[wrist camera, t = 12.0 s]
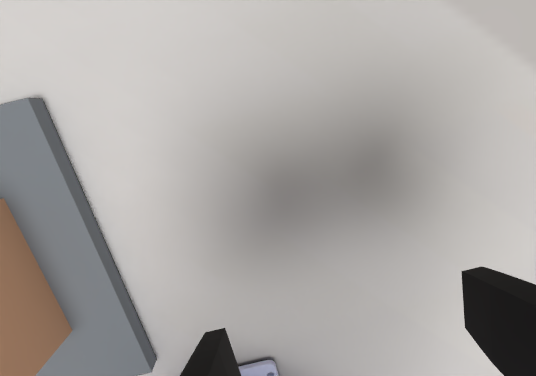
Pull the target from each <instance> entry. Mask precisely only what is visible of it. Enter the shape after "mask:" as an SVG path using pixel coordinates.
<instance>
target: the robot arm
mask: <svg viewBox="0 0 536 376" xmlns="http://www.w3.org/2000/svg"><path fill="white" fill-rule="evenodd" d="M462 285H463V302H464V318H465V328H466V329H467V331H468V332H469V333H470V335H471V336H472V337H473V339H474V340H475V341H476V343H477V344H478V345H479V347H480V348H481V349H482V351H483V352H484V353H485V354H486V356H487V357H488V358H489V359H490V361H491V362H492V363H493V364H494V365H495V366H496V367H497V368H498V370H499V371H500V372H501V373H502V374H503V375H504V376H536V285H535V284H532V283H529V282H527V281H524V280H521V279H518V278H515V277H512V276H510V275H507V274H504V273H501V272H498V271H495V270H492V269H489V268H485V267H478V268H474V269H470V270H466V271H462ZM269 372H272V373H269ZM180 376H279V374H278V371H277V368H276V364H275V362H274V361H272V360H265V361H261V362H256V363H252V364H248V365H244V366H239V367H238V365H237V362H236V359H235V356H234V353H233V350H232V347H231V344H230V341H229V338H228V336H227V333H226V330H225V328H223V329H218V330H214V331H210V332H206V333H205V334H204V335H203V337H202V339H201V340H200V342H199V344H198V345H197V347H196V349H195V351H194V352H193V354H192V356H191V358H190V359H189V361H188V363H187V365H186V366H185V368H184V370H183V371H182V373H181V375H180Z"/></svg>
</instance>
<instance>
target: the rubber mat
mask: <svg viewBox="0 0 536 376" xmlns="http://www.w3.org/2000/svg"><path fill="white" fill-rule="evenodd" d="M2 198H4V200H5V202H6V204H7V205H8V207H9V209H10V211H11V213H12V215H13V217H14V219H15V221H16V223H17V225H18V227H19V229H20V230H21V232H22V234H23V236H24V238H25V240H26V242H27V244H28V246H29V248H30V250H31V252H32V254H33V255H34V257H35V259H36V261H37V263H38V265H39V267H40V269H41V271H42V273H43V275H44V277H45V279H46V281H47V282H48V284H49V286H50V288H51V290H52V292H53V294H54V296H55V298H56V300H57V302H58V304H59V306H60V307H61V309H62V311H63V313H64V315H65V317H66V319H67V321H68V323H69V325H70V327H71V329H72V332H71V333H70V334H69V336H68V337H67V338H66V339H65V340H64V342H63V343H62V344H61V345H60V346H59V348H58V349H57V350H56V351H55V352H54V354H53V355H52V356H51V357H50V358H49V360H48V361H47V362H46V363H45V365H44V366H43V367H42V368H41V369H40V371H39V372H38V373H37V374H36V375H35V376H137V375H142V374H146V373H150V372H152V370H153V367H154V365H155V362H156V360H157V359H156V357H155V355H154V352H153V350H152V348H151V345H150V343H149V341H148V339H147V336H146V334H145V332H144V330H143V327H142V325H141V323H140V320H139V318H138V316H137V314H136V311H135V309H134V307H133V304H132V302H131V300H130V298H129V295H128V293H127V291H126V289H125V286H124V284H123V282H122V279H121V277H120V275H119V273H118V270H117V268H116V266H115V263H114V261H113V259H112V257H111V254H110V252H109V250H108V248H107V245H106V243H105V241H104V238H103V236H102V234H101V232H100V229H99V227H98V225H97V222H96V220H95V218H94V216H93V213H92V211H91V209H90V207H89V204H88V202H87V200H86V197H85V195H84V193H83V191H82V188H81V186H80V184H79V181H78V179H77V177H76V175H75V172H74V170H73V168H72V166H71V163H70V161H69V159H68V156H67V154H66V152H65V150H64V147H63V145H62V143H61V140H60V138H59V136H58V134H57V131H56V129H55V127H54V125H53V122H52V120H51V118H50V115H49V113H48V111H47V109H46V106H45V104H44V102H43V99H39V98H25V99H21V100H17V101H13V102H9V103H5V104H1V105H0V199H2Z"/></svg>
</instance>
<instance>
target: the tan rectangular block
mask: <svg viewBox="0 0 536 376" xmlns="http://www.w3.org/2000/svg"><path fill="white" fill-rule="evenodd" d="M71 332H72V329H71V327H70V325H69V323H68V321H67V319H66V317H65V315H64V313H63V311H62V309H61V307H60V306H59V304H58V302H57V300H56V298H55V296H54V294H53V292H52V290H51V288H50V286H49V284H48V282H47V281H46V279H45V277H44V275H43V273H42V271H41V269H40V267H39V265H38V263H37V261H36V259H35V257H34V255H33V254H32V252H31V250H30V248H29V246H28V244H27V242H26V240H25V238H24V236H23V234H22V232H21V230H20V229H19V227H18V225H17V223H16V221H15V219H14V217H13V215H12V213H11V211H10V209H9V207H8V205H7V204H6V202H5V200H4V198H2V199H0V376H35V375H36V374H37V373H38V372H39V371H40V369H41V368H42V367H43V366H44V365H45V363H46V362H47V361H48V360H49V358H50V357H51V356H52V355H53V354H54V352H55V351H56V350H57V349H58V348H59V346H60V345H61V344H62V343H63V342H64V340H65V339H66V338H67V337H68V336H69V334H70V333H71Z"/></svg>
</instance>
